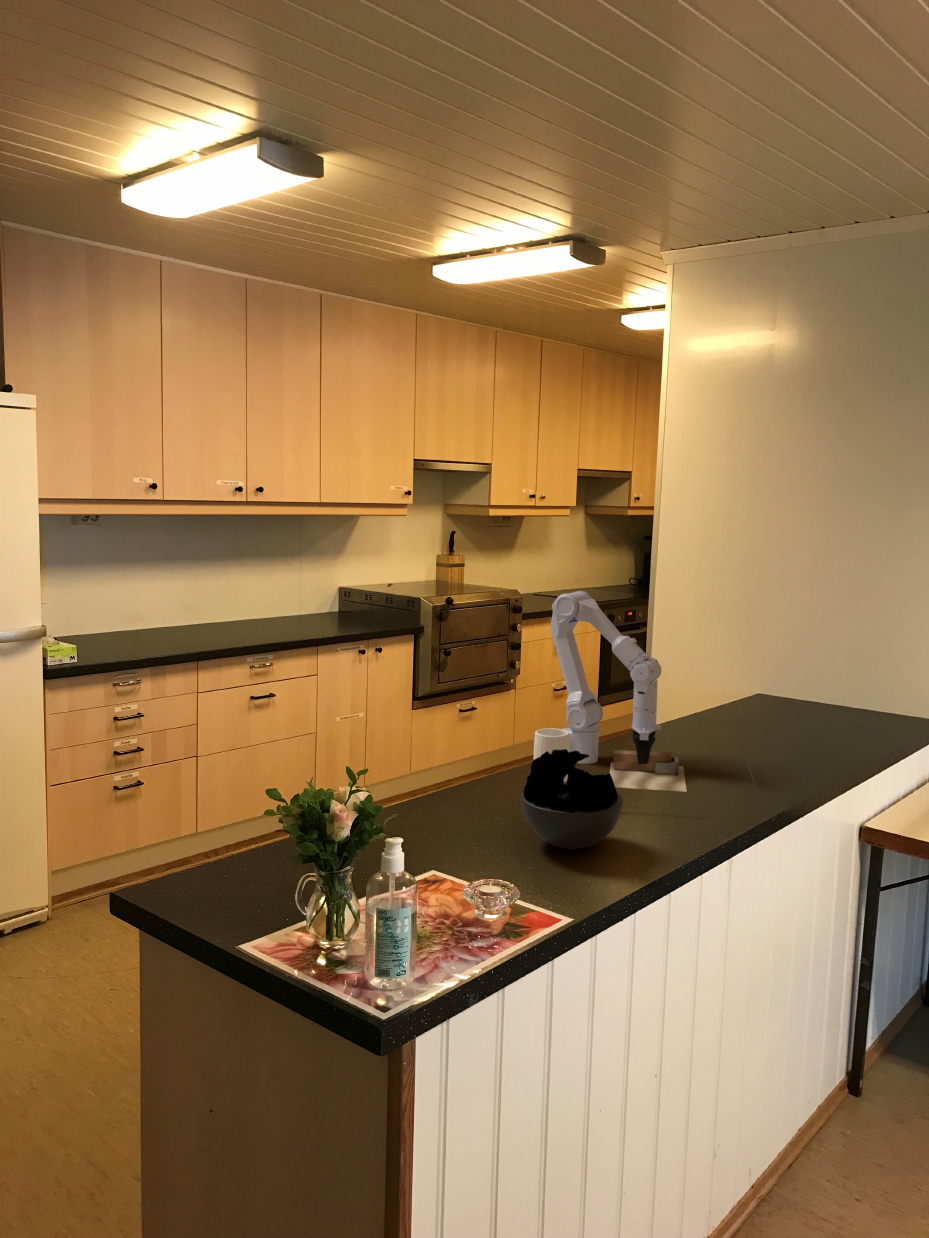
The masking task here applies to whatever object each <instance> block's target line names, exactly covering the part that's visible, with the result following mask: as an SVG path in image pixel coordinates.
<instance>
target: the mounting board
mask: <svg viewBox="0 0 929 1238" xmlns="http://www.w3.org/2000/svg"><path fill="white" fill-rule="evenodd" d="M613 768H614V761H611V762H610V768H609V774H611V776H612V779H613V782H614V785H615V788H617V789H618V788H620V789H632V790H633V789H635V790H649V791H650V790H651V791H652V790H653V791H666V792H667V791H668V792H681V793H683V792H685V793H687V785H686V777H685V776H686V775H685V769H684V766H681V765H679V776H675V775H658V774H655V771H639V770H622V769H613Z"/></svg>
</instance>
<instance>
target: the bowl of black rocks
mask: <svg viewBox="0 0 929 1238" xmlns="http://www.w3.org/2000/svg"><path fill="white" fill-rule="evenodd" d="M587 757H589V755H586V754H581V753H580V752H579V751H571V752H568V750H567V749H563V750H553V751H552V753H551V754H550V753H549V752H545V753H544V754H542V755H541V756H540V757H538V758H536V759H535V760H534V759H533V760H532V762H531V767H530V772H529V775H528V776H527V777H526V784H525V785H524V787H523V790H522V792H521V795H520V805H521V810H522V813H523V816H524V818H525V821H526V822H527V824H528V825H529V827H530V828H531V829H532V831H533V832H534V833H535V834H536V835H537V836H538V837H539V838H540V839H541V840H543V841H545V842H546V843H548V844H550V845H552V846H555V847H558V848H560V849H567V850H568V849H569V850H578V849H584V848H588V847H591V846H593V845H595V844H597V843H600V842H601V841H602V840H604V839H605V838H606V837H607V836H608V835H610V833H611V832H612V831H613V829H614V828H615V826H616V825H617V823H618V821H619V819H620V817H621V813H622V812H623V811H622V810H623V806H624V805H623V804H624V798H623V796H621V795H620V793H618V791H617V789H616V788H617V787H615V785H614V782H613V779H612V776H611V774H610V772H609V773H607V774H590V773H589V772H588V771H585V770H584V769H582V768H581V769H580V768H577V767H576V765H577V764H578V763H577V762H578V761H581V760H583V759H585V758H587ZM567 774H568V779H567V782H564V778H565V776H566V775H567Z"/></svg>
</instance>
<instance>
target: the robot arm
mask: <svg viewBox="0 0 929 1238" xmlns="http://www.w3.org/2000/svg"><path fill="white" fill-rule="evenodd" d="M551 609H552V617H551V623H550V633H551V636H552V640H553V644H554V647H555V650H556V654H557V658H558V661H559V665H560V667H561V668H560V669H561V673H562V675H563V679H564V683H565V686H566V690H567V693H568V696H567V699H566V701H565V702H566V703H565V707H566V715H565V716H566V718H565V719H566V724H567V725H568V726H569V727H562V730H566V731H568V732H569V740H570V752H571V751H579V752H580V753H581V754H586V755H589V757H587V758H585V759H583V760H581V761H578V762H577V763H576V764H583V765H586V764H587V765H588V764H589V765H591V764H595V763H597V762H598V761H599V760H598V759H599V757H598V756H599V729H600V727H599V722H601V720H602V719H603V717H604V710H603V708H602V705H601V704H600V702H598V700H597V697H596V694H595V693H594V692H593V691H591V689H590V688H589V684H588V681H587V677H586V674H585V670H584V667H583V662H582V659H581V655H580V652H579V648H578V645H577V641H576V638H575V634H574V629H575V627H576V626H577V625H578V623H579V621H580V622H584V623H585V622H586V623H589V624H591V626H592V627H594V629H596V631H598V632H599V633H600V634H601V635H602V637H604V638H605V639H606V640H607V641H608V642H609V643H610V644H611V652H612V653H613V655H614V656H616V658H617V659H619V661H620V662H621V663H622V665H624V666H625V668H627V670H628V671H629V675H630V679H631V680H632V681H633V700H632V701H633V702H632V704H633V705H632V706H633V707H632V724H631V729H632V736H631V737H632V741H633V743H634V746H635V749H636V750H635V751H637V757H638V762H639V764H647V763H648V760H649V755H650V752H652V751H651V750H652V747H653V745H654V743H655V742H656V740H657V739H656V738H657V737H655V735H656V730H661V728H662V725H660V724H657V708H658V706H657V705H658V682H659V681H658V679H659V678H660V677H661V675H662V667H661V665H660V662H659V661H658V659H656V658H654V657H650V655H649V654H648V653H647V652H645V651H644V650H643V649H642V648H641V647H640V645H638V644H637V642H638V641H637V640H636V638H635V637H632V638H631V636H630V635H622V634H621V632H620V631H619V629H617V627H616V626H615V625H614V624H613V622H612V621H611V620H610V619H609V618H608V617H607V615H606V614H605V613H604V612H603V610H602V609H601V608H600V607H599V605H598V603H597V601H596V600H595V599H593V598H591V596H590V594H589V593H587V591H584V590H578V591H573V592H570V593H562V594H559V595H558V596H557V598H556V599H555V600H554V602H553V603H552V605H551Z"/></svg>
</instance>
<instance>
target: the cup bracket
mask: <svg viewBox="0 0 929 1238" xmlns="http://www.w3.org/2000/svg"><path fill="white" fill-rule="evenodd" d="M679 766H680V761H679V756H677V755H672V760H671V762H659V761H656V764H655V774H658V775H675V776H679Z"/></svg>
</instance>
